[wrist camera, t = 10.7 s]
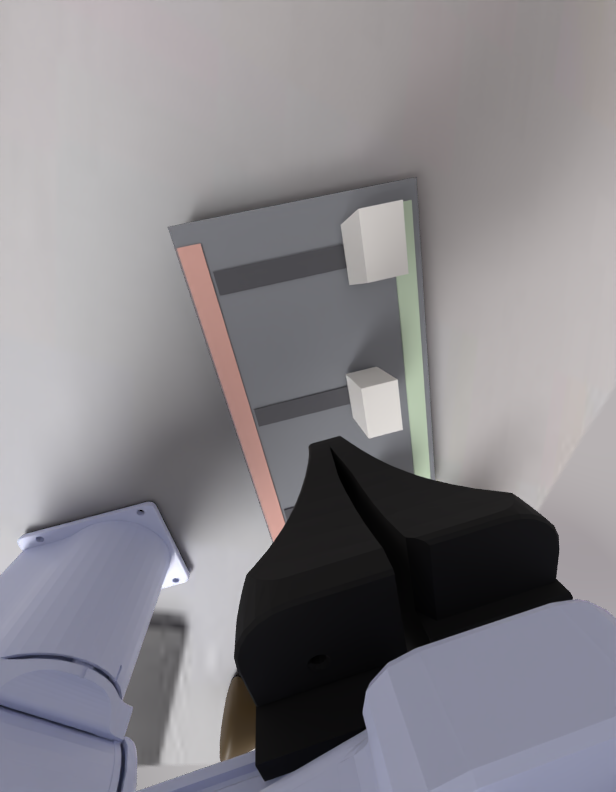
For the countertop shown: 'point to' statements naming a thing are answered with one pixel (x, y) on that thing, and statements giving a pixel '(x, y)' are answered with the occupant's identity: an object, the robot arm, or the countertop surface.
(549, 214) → the countertop surface
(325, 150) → the countertop surface
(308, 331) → the switch panel
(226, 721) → the kendama
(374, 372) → the handle middle
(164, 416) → the countertop surface
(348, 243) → the handle
